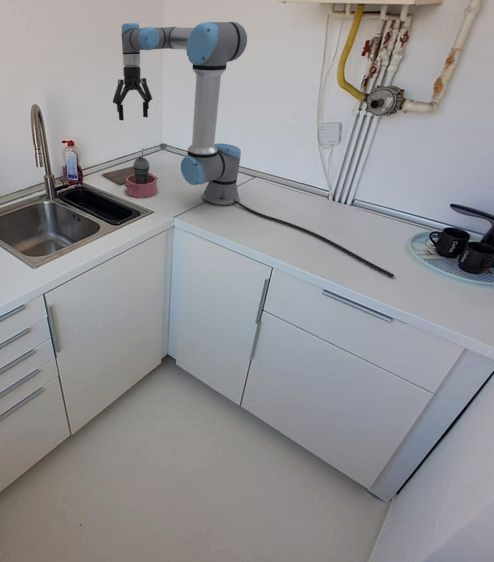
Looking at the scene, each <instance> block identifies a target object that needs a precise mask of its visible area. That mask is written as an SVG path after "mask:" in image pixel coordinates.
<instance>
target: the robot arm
mask: <svg viewBox="0 0 494 562" xmlns="http://www.w3.org/2000/svg"><path fill="white" fill-rule="evenodd" d="M120 35H121V47H122V65H123V69H122V71H123V79H122V78H121V79H120V78H119V79H117V86H116V90H115V93H114V96H113V99H112V103H113V104H115V105H116V111H117V113H118V120H119V121H124V104H123V102H124V100H125V98H126V96H127V94H128V93H129V92H130V91H137V93H138V94H139V95H140V97H141V98H142V100H143V101H142V117H143V118H148V117H149V115H148V114H149V113H148V111H149V109H150V107H149V105H150V104H149V103H150V102H151V101H152V100H153V97H152V93H151V92H150V89H149V86H148V84H147V82H148V81H147V78H146V77H141V76H142V75H141V51H151V50H165V49H169V50H170V49H171V50H184V51H186V56H187V57H188V58H187V60H188V61H189V63H191V64H192V68H191V69H192V71H193V72H194V74H195V91H194V109H193V122H192V123H193V124H192V138H191V145H189V146H188V148H187V155H186V156H184V157H183V158H182V160H181V162H180V171H181V175H182V177H183V178H184V180H185V181H186V182H187V183H189V184H190V185H192V186H198V185H203V184H206V183H207V185H206V187H205V189H204V192H203V200H204V201H205V202H207V203H209V204H212V205H216V206H231V205H234V204H236V205H238V206H240V207H241V208H243V209H245V210H246V211H248V212H250V213H252V214H255V215H257V216H259V217H262V218H265V219H268V220H271V221H275V222H277V223H281V224H284V225H286V226H289V227H293V228H295V229H297V230H299V231H302V232H305V233H307V234H309V235H312V236H315V237H316V238H318V239H320V240H323V241H324V242H326V243H328V244H330V245H332V246H334V247H335V248H338V249H340V250H341V251H343V252H345V253H346V254H348V255H350V256H352V257H354V258H355V259H357V260H358V261H361V262H363V263H365V264H366V265H368V266H370V267H372V268H373V269H376V270H378V271H380V272H382V273H383V274H385V275H387V276H388V277H391V278H394V276H395V274H394V273H392V272H391V271H388V270H386V269H384V268H382V267H380V266H378V265H376V264H374V263H372V262H370V261H369V260H366V259H365V258H363V257H361V256H359V255H358V254H356V253H354V252H352V250H351V251H350V250H349V249H347V248H345V247H344V246H342V245H340V244H338V243H336V242H334V241H332V240H330V239H328V238H326V237H324V236H322V235H320V234H318V233H317V232H313V231H311V230H309V229H306V228H304V227H301V226H300V225H296V224H294V223H291V222H288V221H285V220H282V219H279V218H276V217H273V216H270V215H266V214H263V213H260V212H259V211H255V210H253V209H252V208H250V207H247V206H246V205H244V204H242V203H241V202H239V192H238V186H237V181H238V176H239V169H240V162H241V159H242V158H241V153H242V151H241V148H239V147H238V146H236V145H232V144H228V143H221V142H220V143H215V142H216V131H217V122H218V121H217V120H218V111H219V99H220V91H221V81H222V80H221V79H222V75H223V73H224V72H225V71H227V63H229V62H233V61H235V60H237V59H238V58H240V57H241V56H242V55H243V53H244V52H245V50H246V47H247V45H248V35H247V31H246V29H245V28H244V26H243V25H242V24H240V23H239V22H235V21H207V22H201V23H198V24H197V25H195V26H194V27H177V26H167V27H166V26H165V27H164V26H163V27H151V26H145V27H140V23H136V22H128V23H122V25H121V34H120Z"/></svg>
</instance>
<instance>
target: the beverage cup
mask: <svg viewBox="0 0 494 562" xmlns="http://www.w3.org/2000/svg"><path fill="white" fill-rule="evenodd" d="M133 168H134V172H135V182H136V184H147V181H148V173H150V172H149V171H150V163H149V161H148V159H147V158H146V157H144V148H143V147H142V149H141V156H139V157H137V158H136V159H135V160H134V162H133Z"/></svg>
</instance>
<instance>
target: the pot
mask: <svg viewBox="0 0 494 562" xmlns="http://www.w3.org/2000/svg"><path fill="white" fill-rule="evenodd" d="M150 174H151V173H150ZM150 174H148V181H147V184H136V182H135V174H133V175H130V176H128V177H127V178H126V184H124V187H125V189H126V190H125V191H126V194H127V195H128V196H130V197H134V198H139V199H141V198H142V199H144V198H150V197H153V196H155V195H156V194H157V193H158V192H157V191H158V179H159V177H158V176H157V175H154V174H152V175H150Z"/></svg>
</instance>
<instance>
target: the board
mask: <svg viewBox="0 0 494 562" xmlns="http://www.w3.org/2000/svg"><path fill="white" fill-rule="evenodd" d="M133 166H134V165H133ZM133 166H128V167H125V168H124V167H123V168H121V169H116V170H112V171H108V172H104V173H102V176H103V177H104V178H106V179H108V180H110V181H111V182H114V183H115V184H117V185H118V186H123V185H125V184H126V178H127V177H128V176H130V175H133V174H135V172H134V168H133ZM148 174H150V175H153V173H150V172H148Z"/></svg>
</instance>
